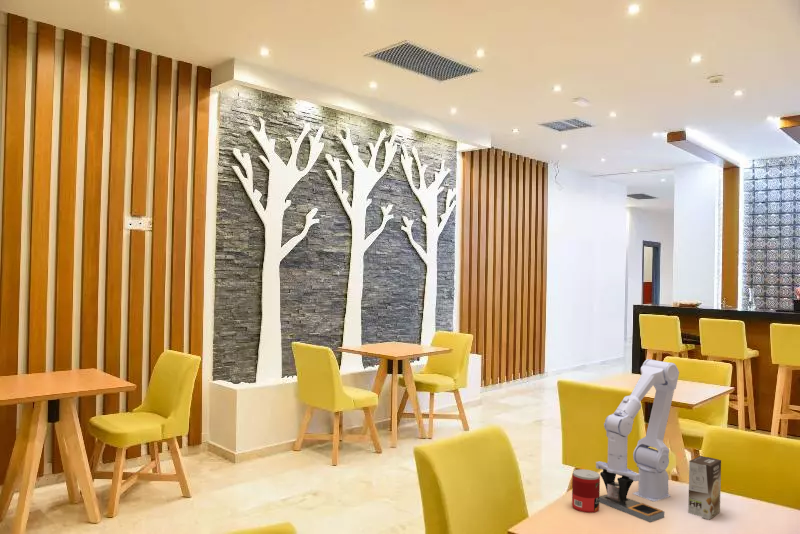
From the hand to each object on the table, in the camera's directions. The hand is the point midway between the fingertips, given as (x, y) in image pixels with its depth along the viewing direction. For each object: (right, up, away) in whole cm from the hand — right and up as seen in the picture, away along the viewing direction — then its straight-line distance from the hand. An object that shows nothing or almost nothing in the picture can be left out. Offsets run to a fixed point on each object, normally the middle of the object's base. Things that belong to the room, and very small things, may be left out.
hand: (616, 497), depth 191 cm
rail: (+3, -2, -4) cm, 6 cm away
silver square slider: (0, -2, 0) cm, 2 cm away
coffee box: (+25, -3, -5) cm, 26 cm away
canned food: (-11, -2, -4) cm, 12 cm away
